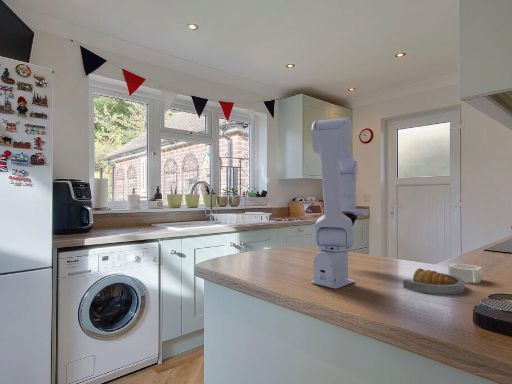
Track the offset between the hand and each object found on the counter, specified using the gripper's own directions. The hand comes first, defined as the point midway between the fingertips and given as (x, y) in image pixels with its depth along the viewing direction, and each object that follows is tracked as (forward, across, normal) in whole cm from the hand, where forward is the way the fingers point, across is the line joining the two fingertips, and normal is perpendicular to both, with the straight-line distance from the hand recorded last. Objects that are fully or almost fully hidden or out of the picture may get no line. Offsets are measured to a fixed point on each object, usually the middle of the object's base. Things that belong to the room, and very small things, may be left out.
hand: (347, 236), depth 108 cm
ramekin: (+10, -32, -8) cm, 34 cm away
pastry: (+10, -27, +3) cm, 29 cm away
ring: (+10, -29, +5) cm, 31 cm away
